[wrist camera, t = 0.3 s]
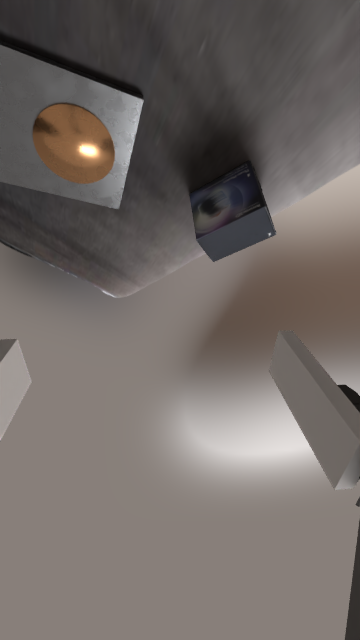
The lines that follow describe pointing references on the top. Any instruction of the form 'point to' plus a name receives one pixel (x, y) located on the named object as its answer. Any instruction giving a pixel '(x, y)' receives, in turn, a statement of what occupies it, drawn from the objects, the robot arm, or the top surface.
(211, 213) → the small box
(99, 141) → the rail plate
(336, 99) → the top surface
